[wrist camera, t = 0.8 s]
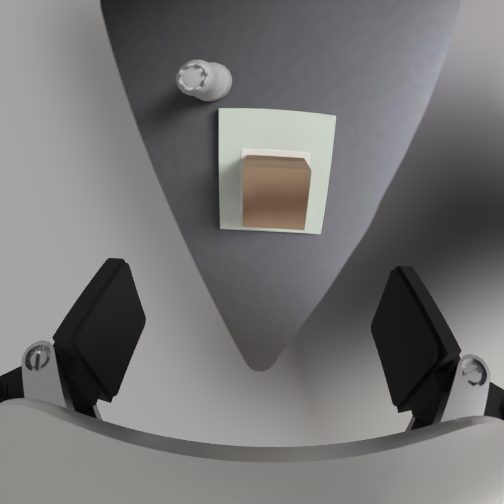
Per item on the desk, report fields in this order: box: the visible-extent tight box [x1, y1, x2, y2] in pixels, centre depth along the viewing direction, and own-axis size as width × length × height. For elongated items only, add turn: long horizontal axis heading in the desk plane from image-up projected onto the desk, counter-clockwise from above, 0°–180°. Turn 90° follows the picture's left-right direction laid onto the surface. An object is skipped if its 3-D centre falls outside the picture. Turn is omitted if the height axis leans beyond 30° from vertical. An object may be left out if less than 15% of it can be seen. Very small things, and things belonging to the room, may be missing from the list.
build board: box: [219, 108, 336, 234], centre depth 29 cm, size 14×12×1 cm
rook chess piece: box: [176, 60, 232, 101], centre depth 21 cm, size 4×4×8 cm
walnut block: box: [242, 155, 312, 230], centre depth 27 cm, size 6×6×5 cm
